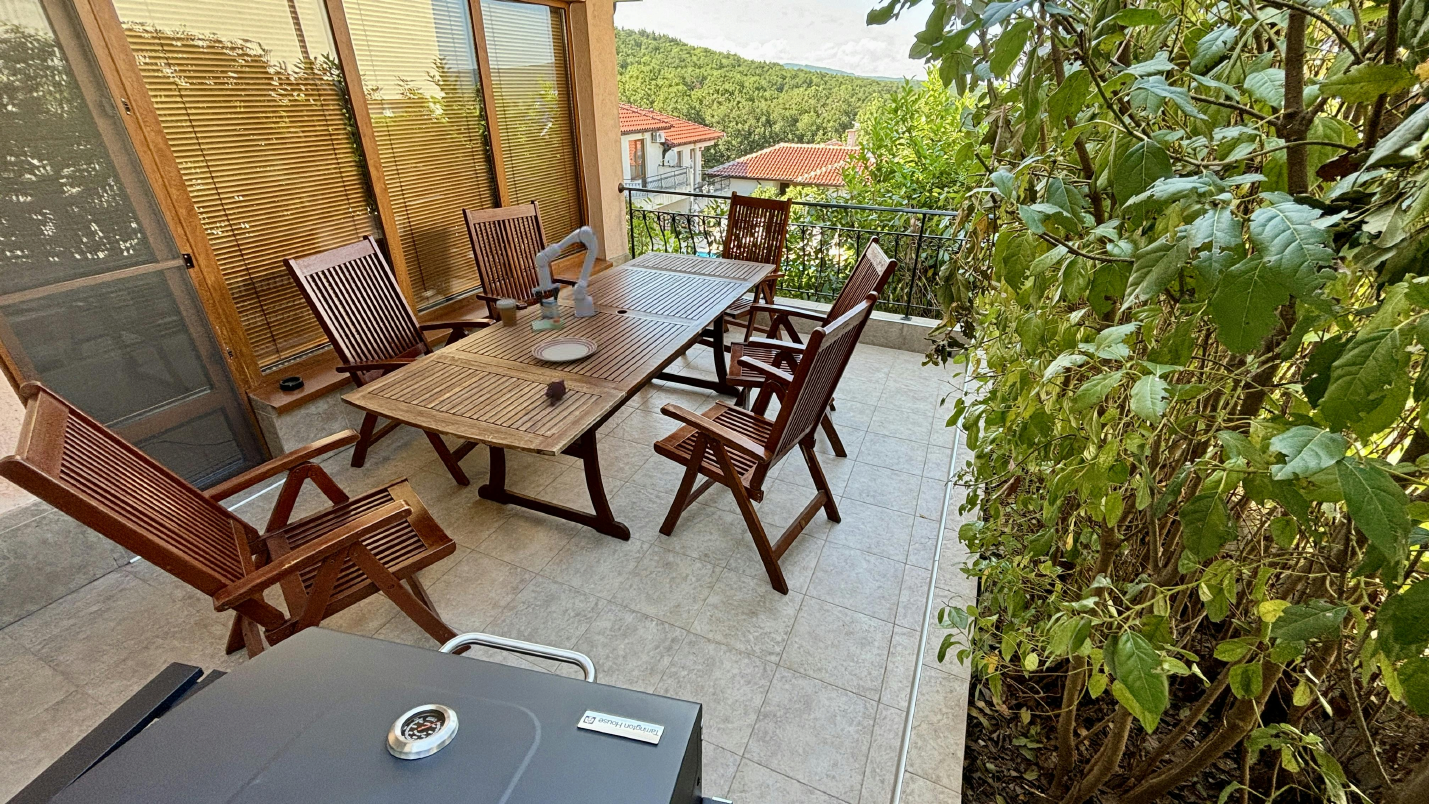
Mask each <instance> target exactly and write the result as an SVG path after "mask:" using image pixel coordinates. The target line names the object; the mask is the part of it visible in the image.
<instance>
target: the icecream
mask: <svg viewBox="0 0 1429 804" xmlns="http://www.w3.org/2000/svg"><path fill="white" fill-rule="evenodd" d="M566 394H567V388H566V385H565V379H561V380H559V381H551V382H550V383H549V384H548V385H547V388H546V390H545V394H544V396H545V397H546V398H547V399H550V401H549V405H550V407H553V406H555V405H556V403H557V400H560V399H562V398H563V397H564V396H566Z"/></svg>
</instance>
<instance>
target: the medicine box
mask: <svg viewBox="0 0 1429 804" xmlns="http://www.w3.org/2000/svg"><path fill="white" fill-rule="evenodd" d="M542 301H543V306H540V305H539V306H540V313H541V318H544V319H554V318H560V310H559V303H558V299H557V300H554V299H547V298H544V299H543V298H542Z"/></svg>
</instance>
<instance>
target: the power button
mask: <svg viewBox="0 0 1429 804" xmlns="http://www.w3.org/2000/svg"><path fill="white" fill-rule="evenodd" d="M560 319H561V317H557V318H554V319H553V323H559V322H560Z"/></svg>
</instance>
